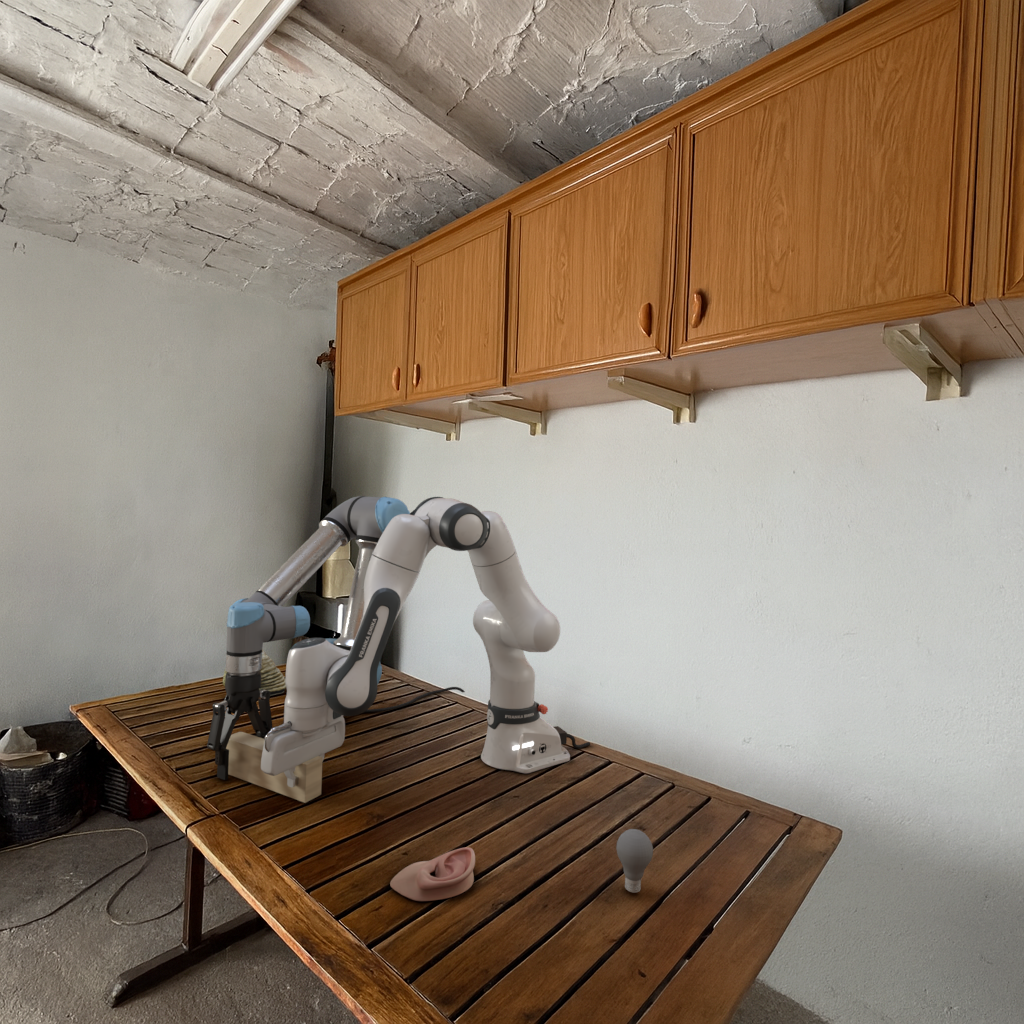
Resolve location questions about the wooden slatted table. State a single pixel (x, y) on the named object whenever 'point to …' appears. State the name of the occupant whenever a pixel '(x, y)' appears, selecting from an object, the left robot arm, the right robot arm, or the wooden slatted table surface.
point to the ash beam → (248, 767)
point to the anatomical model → (437, 876)
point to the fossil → (269, 676)
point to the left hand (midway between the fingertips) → (239, 770)
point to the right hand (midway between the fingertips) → (303, 780)
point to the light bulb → (634, 857)
